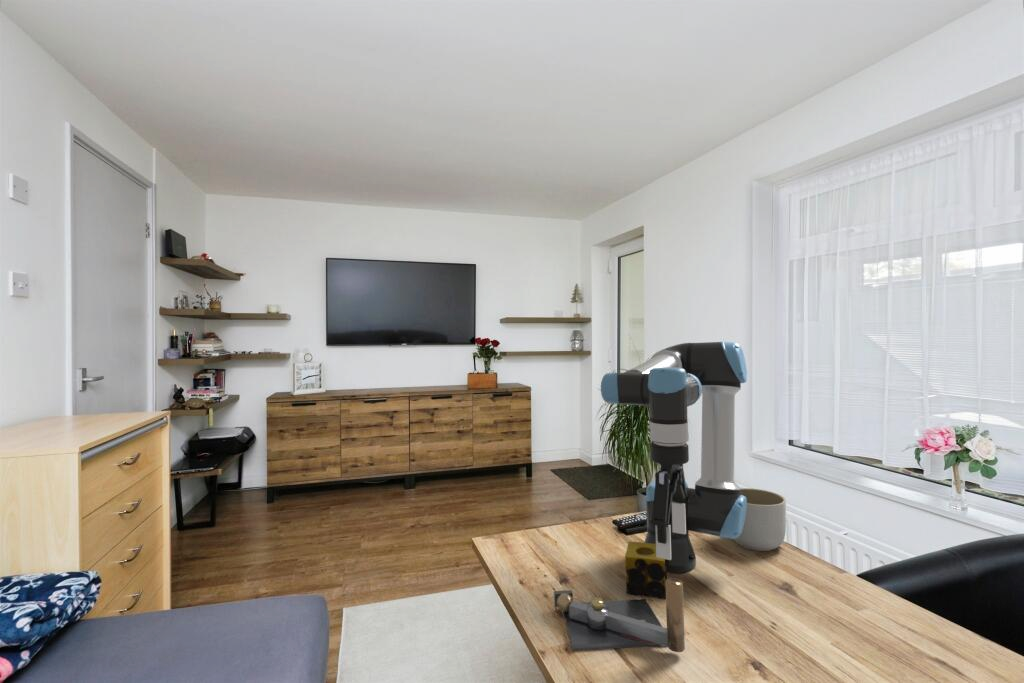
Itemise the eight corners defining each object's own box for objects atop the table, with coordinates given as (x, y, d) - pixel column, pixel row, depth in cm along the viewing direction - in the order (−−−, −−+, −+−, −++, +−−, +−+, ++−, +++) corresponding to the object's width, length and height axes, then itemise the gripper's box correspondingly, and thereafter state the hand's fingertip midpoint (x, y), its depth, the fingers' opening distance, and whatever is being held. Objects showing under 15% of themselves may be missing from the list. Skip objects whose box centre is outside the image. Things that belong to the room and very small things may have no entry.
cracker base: (645, 603, 116) (644, 576, 116) (672, 649, 99) (671, 617, 99) (554, 608, 115) (553, 581, 115) (565, 655, 98) (564, 623, 98)
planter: (719, 532, 158) (718, 487, 158) (773, 534, 155) (772, 488, 155) (736, 555, 141) (734, 504, 141) (797, 557, 138) (795, 506, 138)
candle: (668, 581, 127) (667, 544, 127) (667, 601, 118) (666, 560, 118) (629, 576, 131) (628, 540, 131) (625, 594, 121) (624, 556, 121)
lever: (686, 642, 99) (685, 578, 99) (681, 656, 94) (680, 589, 95) (575, 609, 112) (574, 553, 112) (567, 620, 108) (565, 561, 108)
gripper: (665, 430, 110) (668, 520, 110) (632, 453, 89) (636, 565, 89) (699, 432, 106) (702, 526, 106) (673, 457, 85) (677, 575, 85)
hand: (672, 544), depth 98 cm, fingers open, 13 cm apart
